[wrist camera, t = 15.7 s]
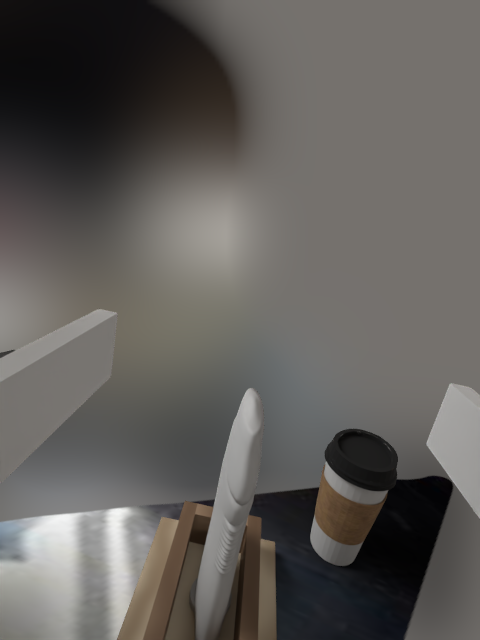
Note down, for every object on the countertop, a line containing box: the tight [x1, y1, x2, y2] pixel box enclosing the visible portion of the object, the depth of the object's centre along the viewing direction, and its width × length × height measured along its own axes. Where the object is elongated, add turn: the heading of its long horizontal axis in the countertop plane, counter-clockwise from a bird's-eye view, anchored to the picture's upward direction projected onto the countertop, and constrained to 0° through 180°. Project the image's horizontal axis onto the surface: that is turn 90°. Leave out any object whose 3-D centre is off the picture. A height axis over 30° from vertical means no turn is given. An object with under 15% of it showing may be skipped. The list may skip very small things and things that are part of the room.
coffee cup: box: [310, 429, 398, 566], centre depth 44 cm, size 8×8×15 cm
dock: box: [117, 501, 277, 640], centre depth 34 cm, size 14×18×6 cm
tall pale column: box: [189, 388, 264, 640], centre depth 32 cm, size 11×4×22 cm, turn 179°
